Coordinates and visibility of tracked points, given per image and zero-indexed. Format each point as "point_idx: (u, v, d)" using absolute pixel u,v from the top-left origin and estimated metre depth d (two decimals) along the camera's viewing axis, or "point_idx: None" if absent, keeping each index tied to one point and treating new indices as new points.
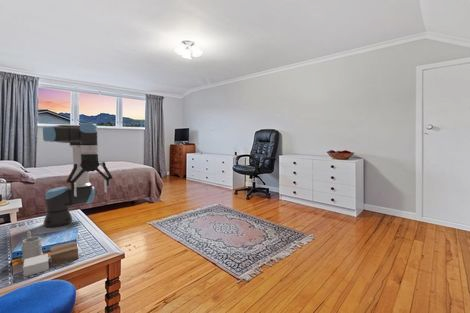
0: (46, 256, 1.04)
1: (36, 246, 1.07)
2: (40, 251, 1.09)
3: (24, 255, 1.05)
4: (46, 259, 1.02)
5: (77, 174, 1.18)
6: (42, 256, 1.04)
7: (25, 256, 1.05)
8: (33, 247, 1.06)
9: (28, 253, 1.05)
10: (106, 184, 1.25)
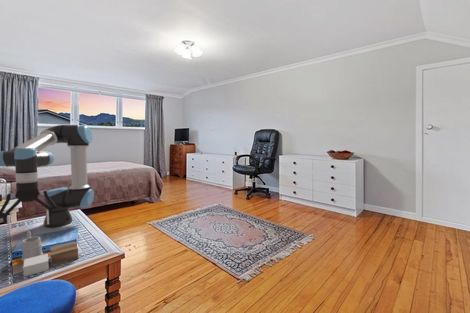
0: (46, 256, 1.04)
1: (36, 246, 1.07)
2: (40, 251, 1.09)
3: (24, 255, 1.05)
4: (46, 259, 1.02)
5: (12, 205, 1.05)
6: (42, 256, 1.04)
7: (25, 256, 1.05)
8: (33, 247, 1.06)
9: (28, 253, 1.05)
10: (48, 215, 1.12)
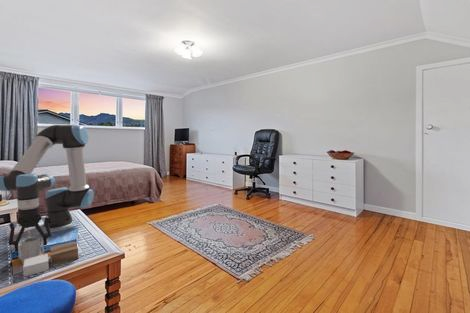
0: (46, 256, 1.04)
1: (35, 246, 1.07)
2: (39, 251, 1.09)
3: (23, 255, 1.05)
4: (46, 259, 1.02)
5: None
6: (42, 256, 1.04)
7: (24, 256, 1.05)
8: (32, 247, 1.06)
9: (27, 253, 1.05)
10: (43, 244, 1.11)
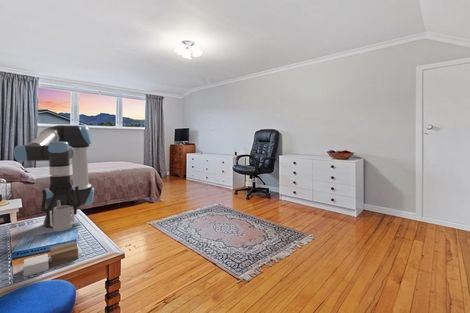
0: (46, 256, 1.04)
1: (66, 214, 1.06)
2: (70, 219, 1.08)
3: (55, 222, 1.04)
4: (46, 259, 1.02)
5: (50, 200, 1.06)
6: (42, 256, 1.04)
7: (56, 223, 1.04)
8: (64, 214, 1.05)
9: (59, 220, 1.04)
10: (73, 213, 1.11)
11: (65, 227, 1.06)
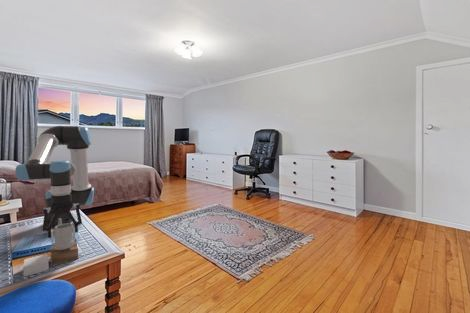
0: (46, 256, 1.04)
1: (68, 232, 1.07)
2: (71, 238, 1.09)
3: (56, 241, 1.05)
4: (46, 259, 1.02)
5: (51, 219, 1.07)
6: (42, 256, 1.04)
7: (57, 242, 1.05)
8: (65, 233, 1.06)
9: (61, 239, 1.05)
10: (74, 231, 1.12)
11: (66, 246, 1.06)
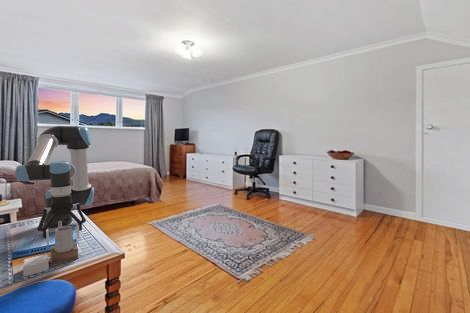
0: (46, 256, 1.04)
1: (68, 235, 1.07)
2: (72, 240, 1.09)
3: (57, 244, 1.05)
4: (46, 259, 1.02)
5: (49, 219, 1.07)
6: (42, 256, 1.04)
7: (58, 245, 1.05)
8: (65, 235, 1.06)
9: (61, 242, 1.06)
10: (78, 229, 1.13)
11: (67, 248, 1.07)
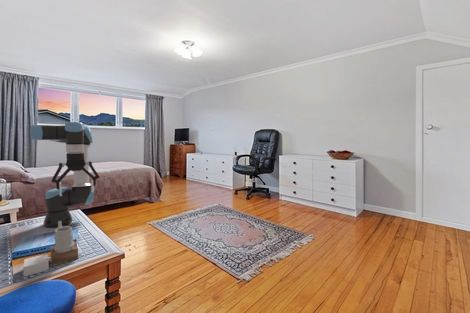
0: (46, 256, 1.04)
1: (68, 235, 1.07)
2: (72, 241, 1.09)
3: (57, 245, 1.05)
4: (46, 259, 1.02)
5: None
6: (42, 256, 1.04)
7: (58, 245, 1.05)
8: (65, 236, 1.06)
9: (61, 242, 1.05)
10: (93, 184, 1.23)
11: (67, 249, 1.07)
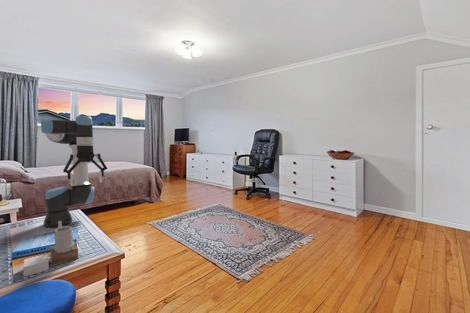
0: (46, 256, 1.04)
1: (68, 235, 1.07)
2: (72, 241, 1.09)
3: (57, 245, 1.05)
4: (46, 259, 1.02)
5: (73, 164, 1.24)
6: (42, 256, 1.04)
7: (58, 245, 1.05)
8: (65, 236, 1.06)
9: (61, 242, 1.05)
10: (101, 174, 1.31)
11: (67, 249, 1.07)
